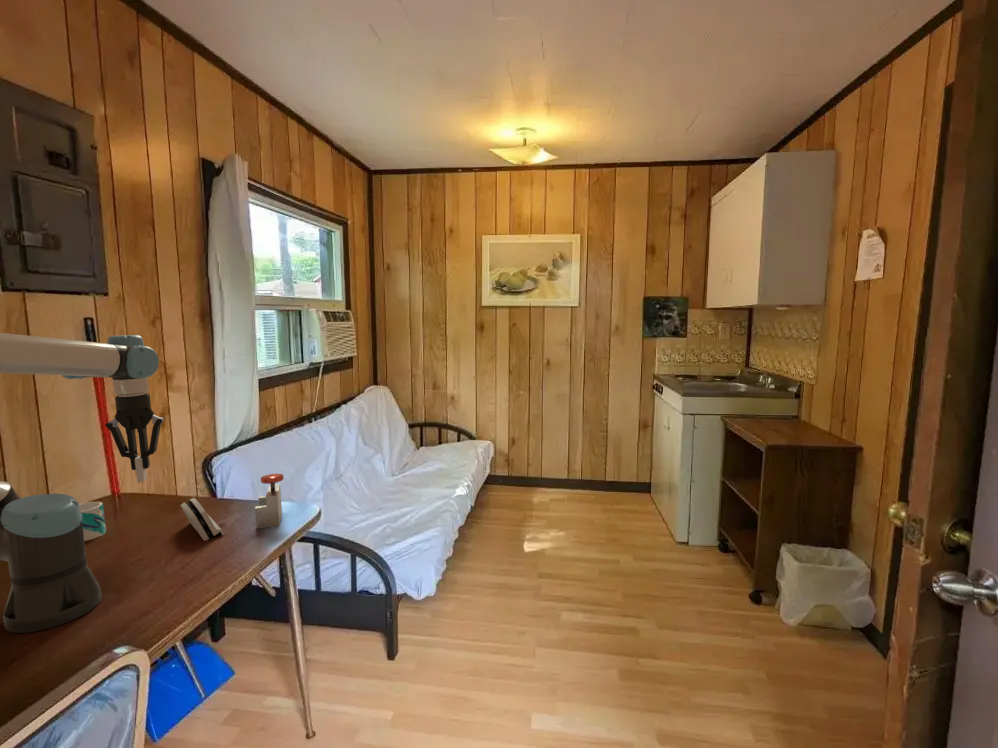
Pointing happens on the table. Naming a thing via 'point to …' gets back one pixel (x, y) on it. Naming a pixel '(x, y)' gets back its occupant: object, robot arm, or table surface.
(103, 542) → the table surface
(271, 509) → the valve body
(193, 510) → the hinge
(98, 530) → the mug
